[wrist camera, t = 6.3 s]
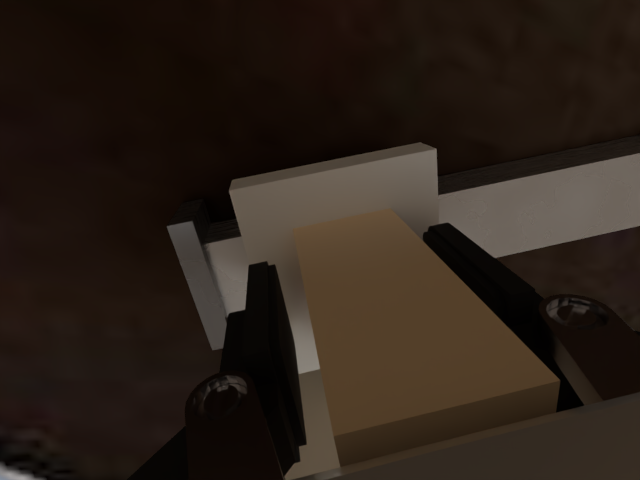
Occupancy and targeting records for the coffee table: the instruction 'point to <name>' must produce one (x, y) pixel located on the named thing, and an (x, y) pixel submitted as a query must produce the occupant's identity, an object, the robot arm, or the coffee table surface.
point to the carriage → (385, 305)
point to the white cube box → (315, 430)
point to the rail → (447, 217)
